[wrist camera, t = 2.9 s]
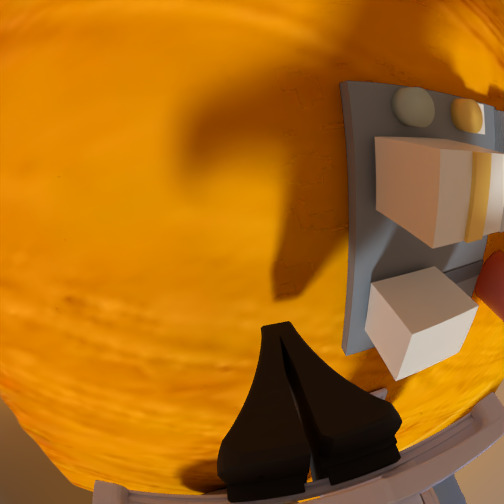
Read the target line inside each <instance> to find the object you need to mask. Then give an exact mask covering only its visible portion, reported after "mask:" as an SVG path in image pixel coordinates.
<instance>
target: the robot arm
mask: <svg viewBox="0 0 504 504" xmlns="http://www.w3.org/2000/svg"><path fill="white" fill-rule="evenodd" d="M261 334H262V339H261V349H260V355H259V361H258V365H257V369H256V373H255V377H254V380H253V383H252V386H251V388H250V391H249V394H248V396H247V398H246V401H245V403H244V405H243V407H242V409H241V411H240V413H239V415H238V417H237V419H236V420H235V422H234V424H233V426H232V427H231V429H230V430H229V432H228V433H227V435H226V436H225V438H224V439H223V441H222V443H221V446H220V450H219V454H218V459H217V472H218V476H219V478H220V479H221V480H222V481H223V482H224V483H225V484H226V488H227V494H222V495H176V494H161V493H150V492H141V491H134V490H128V489H127V488H126V487H124V486H121V485H118V484H115V483H109V482H104V481H100V480H96V481H95V485H94V492H93V500H92V504H283V503H288V502H294V501H299V500H304V499H308V498H312V497H317V496H320V497H321V498H317V499H313V500H309V501H305V502H301V503H297V504H440V502H439V500H438V497H437V495H436V493H435V491H434V489H433V488H432V487H433V486H435V485H436V484H438V483H440V482H441V481H443V480H445V479H446V478H448V477H449V476H451V475H452V474H454V473H455V472H457V471H458V470H460V469H461V468H463V467H464V466H465V465H467V464H468V463H470V462H471V461H472V460H474V459H475V458H476V457H478V456H479V455H480V454H482V453H483V452H484V451H486V450H487V449H488V448H489V447H490V446H492V445H493V444H494V443H495V442H496V441H497V440H498V439H499V438H500V437H502V436H503V435H504V407H503V405H502V404H501V402H500V401H499V399H498V398H497V396H496V395H495V393H494V392H492V393H490V394H489V395H488V396H486V397H485V398H484V399H482V400H481V401H480V402H478V403H477V404H476V405H475V406H474V407H473V409H472V410H471V412H470V413H468V414H467V415H465V416H464V417H462V418H461V419H459V420H458V421H456V422H454V423H453V424H451V425H450V426H448V427H446V428H445V429H443V430H441V431H439V432H438V433H436V434H434V435H432V436H430V437H429V438H427V439H425V440H423V441H421V442H419V443H417V444H415V445H413V446H411V447H409V448H407V449H405V450H402V451H400V452H399V451H398V449H397V447H396V443H397V440H396V438H395V436H394V435H395V434H396V432H397V431H398V429H399V428H400V426H401V423H402V419H401V417H400V415H399V414H398V412H397V411H396V409H395V408H394V407H393V405H392V404H391V403H390V402H388V401H385V398H386V395H387V393H388V391H387V389H386V388H383V389H380V390H377V391H374V392H371V393H368V392H366V391H364V390H362V389H361V388H359V387H358V386H356V385H354V384H353V383H351V382H350V381H348V380H346V379H345V378H344V377H342V376H341V375H340V374H338V373H337V372H336V371H334V370H333V369H332V368H331V367H330V366H328V365H327V364H326V363H325V362H324V361H323V360H322V359H321V358H320V357H319V356H318V355H317V354H316V353H315V352H314V351H313V350H312V349H311V348H310V347H309V346H308V345H307V343H306V342H305V341H304V340H303V339H302V337H301V336H300V335H299V334H298V332H297V331H296V330H295V328H294V327H293V325H292V323H291V322H289V321H287V322H282V323H276V324H271V325H266V326H263V327H262V328H261ZM309 468H310V469H311V474H312V479H313V482H309V483H307V475H308V473H309Z"/></svg>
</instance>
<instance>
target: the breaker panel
mask: <svg viewBox="0 0 504 504" xmlns="http://www.w3.org/2000/svg"><path fill="white" fill-rule="evenodd" d="M340 91H341V98H342V107H343V116H344V126H345V137H346V151H347V167H348V192H349V253H348V278H347V295H346V308H345V320H344V330H343V340H342V349H343V351H344V353H345V355H346V356H347V355H351V354H354V353H357V352H361V351H364V350H367V349H371V348H374V347H375V346H374V344H373V342H372V341H371V339H370V337H369V336H368V334H367V333H366V331H365V324H366V318H367V311H368V304H369V296H370V287H371V283H372V282H376V281H380V280H384V279H388V278H392V277H396V276H400V275H404V274H408V273H411V272H415V271H419V270H422V269H426V268H429V267H433V266H435V267H436V268H438V269H439V270H440V271H441V272H442V273H443V274H445V275H446V276H447V277H448V278H449V279H450V280H452V281H453V282H454V283H455V284H456V285H457V286H458V287H459V288H460V289H462V290H463V291H464V292H465V293H466V294H467V295H468V296H469V297H470V298H471V297H472V294H473V291H474V288H475V284H476V281H477V278H478V275H480V272H481V268H482V264H483V261H484V260H483V255H484V251H485V246H486V242H487V237H488V235H484V236H483V237H482V239H481V240H477V241H474V242H470V243H466V242H465V241H461V242H457V243H453V244H449V245H445V246H441V247H437V248H433V249H432V248H431V247H429V246H428V245H427V244H425V243H424V242H423V241H421V240H420V239H418V238H417V237H416V236H414V235H413V234H411V233H410V232H409V231H407V230H406V229H404V228H403V227H401V226H400V225H398V224H397V223H395V222H394V221H392V220H391V219H389V218H388V217H386V216H385V215H383V214H382V213H380V212H379V211H377V210H376V157H375V137H422V138H439V139H448V140H453V141H458V142H462V143H467V144H471V145H475V146H479V147H483V148H486V149H490V150H494V151H495V129H494V110H496V107H493V106H490V105H487V104H483V103H480V102H477V101H475V100H473V99H466V98H462V97H458V96H454V95H450V94H446V93H441V92H436V91H431V90H426V89H422V88H420V87H408V86H401V85H393V84H384V83H374V82H361V81H345V82H341V83H340Z"/></svg>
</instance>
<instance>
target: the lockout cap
mask: <svg viewBox="0 0 504 504" xmlns="http://www.w3.org/2000/svg"><path fill="white" fill-rule="evenodd" d="M475 293H476V295H477V296H478V297H479V298H480V299H481V300H482V301H483V302H484V303H485V304H486V305H487V306H488V307H489V308H490V309H491V310H492V311H493V312H494V313H495V314H496V315H497V316H498V317H499V318H500V319H501V320H502V321H503V322H504V253H503V252H502V251H496V252H494V253H493V254H492V255H491V256H490V257H489V258H488V259H487V261H486V262H485V264H484V265H483V267H482V269H481V272H480V275H478V278H477V281H476V285H475Z"/></svg>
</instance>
